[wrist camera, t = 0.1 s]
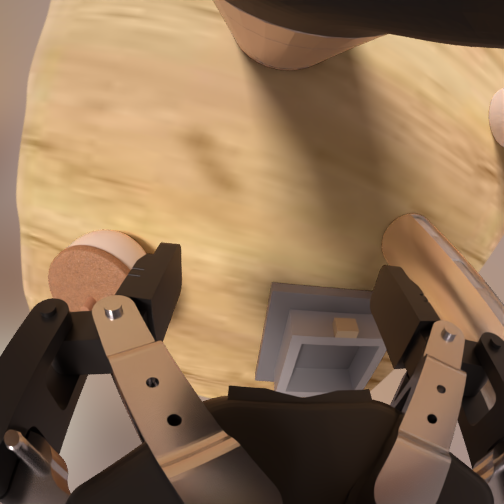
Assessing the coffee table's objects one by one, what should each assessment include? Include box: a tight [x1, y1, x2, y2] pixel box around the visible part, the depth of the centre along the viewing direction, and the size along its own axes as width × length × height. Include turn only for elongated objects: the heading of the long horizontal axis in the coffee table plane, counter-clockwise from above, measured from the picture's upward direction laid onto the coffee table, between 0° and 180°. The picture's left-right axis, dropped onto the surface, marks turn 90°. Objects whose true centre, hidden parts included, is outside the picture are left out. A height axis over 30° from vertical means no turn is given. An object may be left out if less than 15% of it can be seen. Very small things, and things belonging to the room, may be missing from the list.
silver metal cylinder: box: [381, 213, 504, 410], centre depth 19 cm, size 6×6×25 cm
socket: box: [255, 282, 386, 397], centre depth 35 cm, size 16×16×6 cm
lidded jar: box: [48, 229, 146, 312], centre depth 28 cm, size 11×11×9 cm
